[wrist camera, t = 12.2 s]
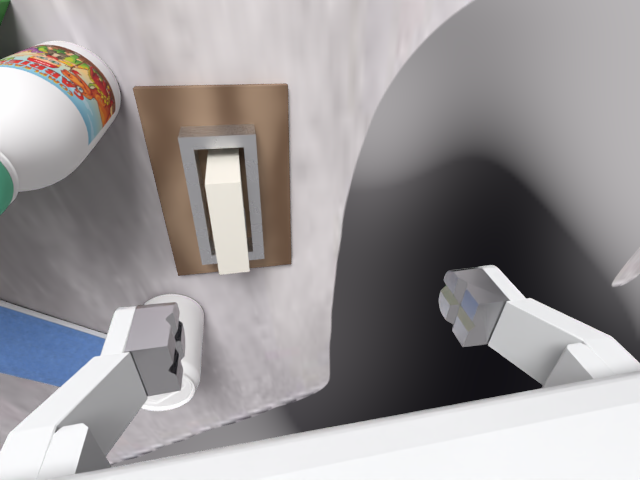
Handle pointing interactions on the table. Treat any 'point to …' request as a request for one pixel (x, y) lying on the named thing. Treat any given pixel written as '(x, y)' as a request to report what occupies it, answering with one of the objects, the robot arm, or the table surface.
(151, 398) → the beverage can
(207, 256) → the bottom track
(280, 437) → the robot arm
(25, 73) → the milk bottle
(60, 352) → the tablet computer
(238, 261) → the door panel
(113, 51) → the table surface
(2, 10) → the hardback book
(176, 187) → the track board
